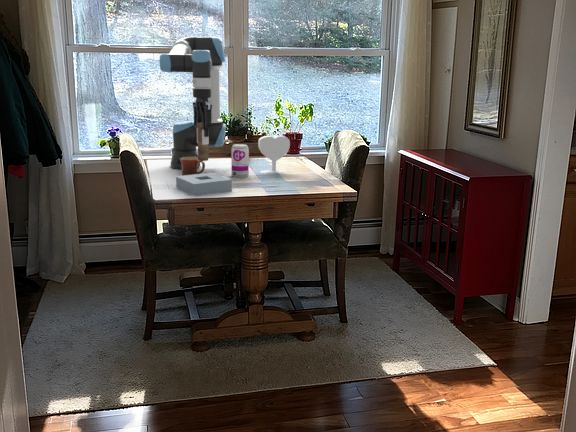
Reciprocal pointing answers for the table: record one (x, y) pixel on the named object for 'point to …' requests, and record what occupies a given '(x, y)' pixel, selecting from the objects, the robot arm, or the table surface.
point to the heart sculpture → (274, 149)
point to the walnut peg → (201, 148)
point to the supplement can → (240, 160)
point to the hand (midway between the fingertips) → (202, 143)
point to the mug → (191, 165)
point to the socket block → (203, 183)
